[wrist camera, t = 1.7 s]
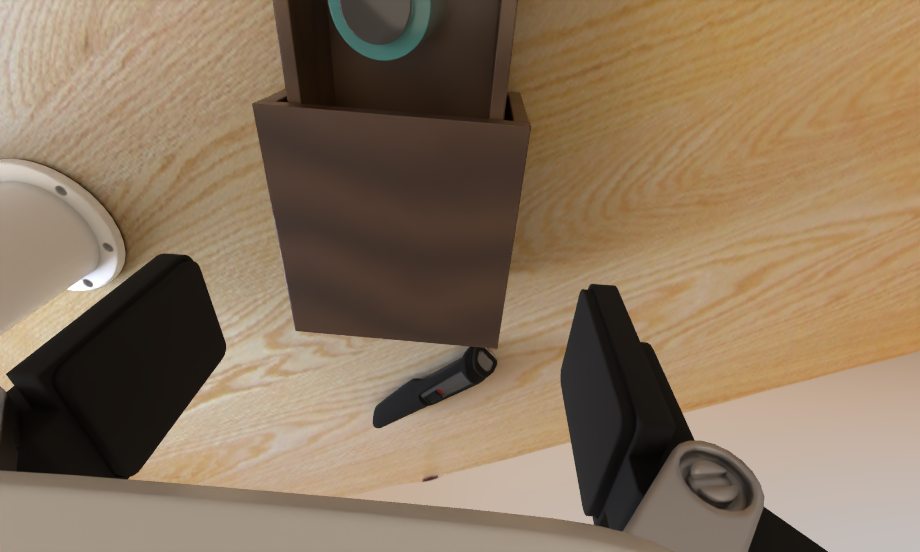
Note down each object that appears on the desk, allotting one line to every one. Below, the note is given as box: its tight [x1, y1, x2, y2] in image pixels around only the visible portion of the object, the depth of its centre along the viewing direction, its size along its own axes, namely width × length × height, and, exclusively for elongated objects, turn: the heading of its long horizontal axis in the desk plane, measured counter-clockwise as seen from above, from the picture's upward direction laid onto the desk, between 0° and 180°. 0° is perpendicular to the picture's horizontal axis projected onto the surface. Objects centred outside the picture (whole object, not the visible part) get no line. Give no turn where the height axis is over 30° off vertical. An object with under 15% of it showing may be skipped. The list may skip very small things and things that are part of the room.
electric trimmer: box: [373, 346, 497, 428], centre depth 45 cm, size 4×16×3 cm, turn 128°
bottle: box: [328, 0, 448, 61], centre depth 22 cm, size 4×4×10 cm
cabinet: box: [252, 89, 531, 349], centre depth 31 cm, size 16×15×9 cm
